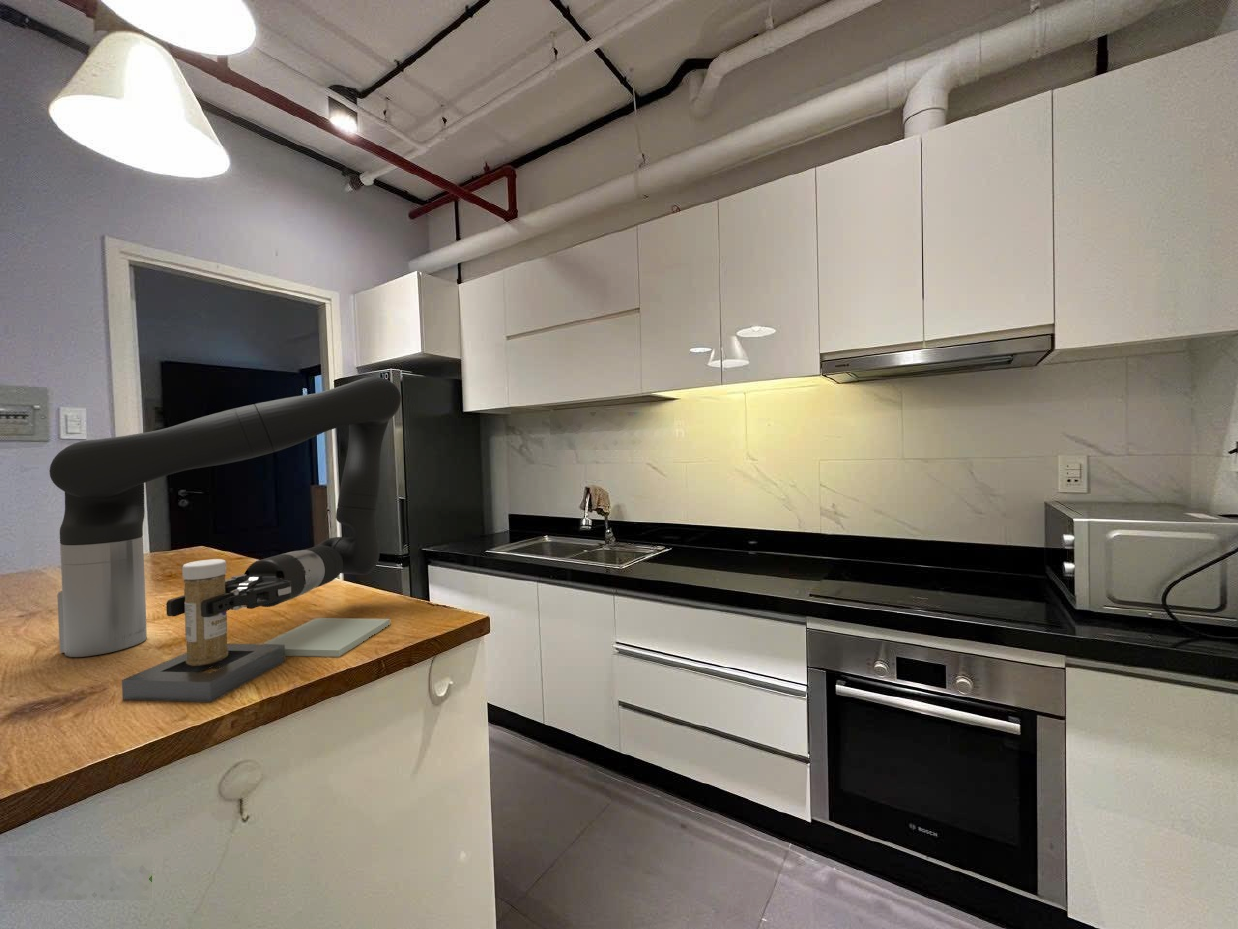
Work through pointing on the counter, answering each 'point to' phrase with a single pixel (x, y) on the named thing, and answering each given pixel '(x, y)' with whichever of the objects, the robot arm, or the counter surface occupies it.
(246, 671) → the metal socket
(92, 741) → the counter surface
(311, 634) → the sage board
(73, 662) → the counter surface
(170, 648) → the counter surface
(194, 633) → the sprinkles bottle
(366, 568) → the robot arm
